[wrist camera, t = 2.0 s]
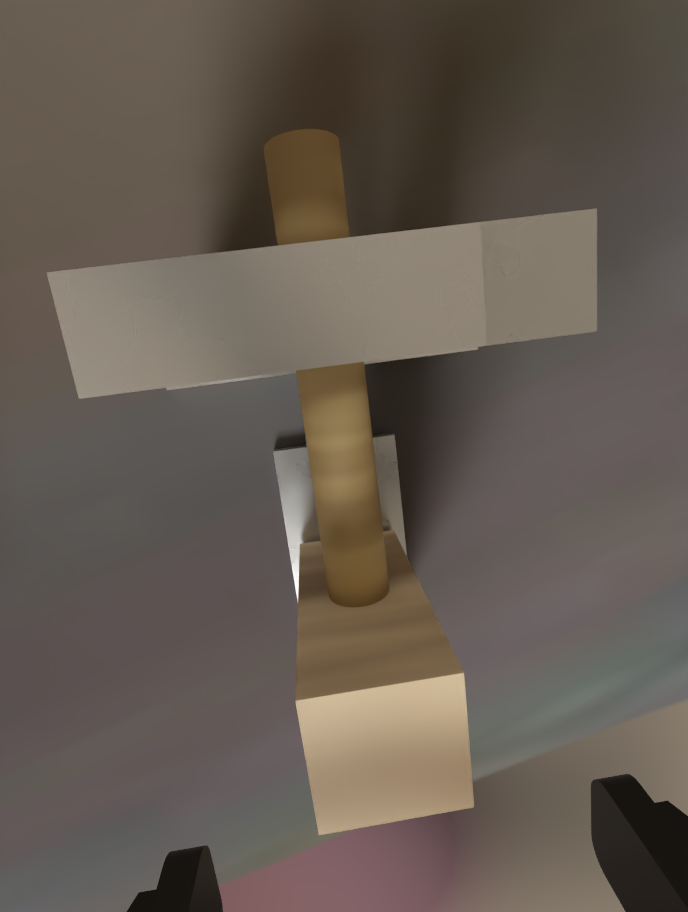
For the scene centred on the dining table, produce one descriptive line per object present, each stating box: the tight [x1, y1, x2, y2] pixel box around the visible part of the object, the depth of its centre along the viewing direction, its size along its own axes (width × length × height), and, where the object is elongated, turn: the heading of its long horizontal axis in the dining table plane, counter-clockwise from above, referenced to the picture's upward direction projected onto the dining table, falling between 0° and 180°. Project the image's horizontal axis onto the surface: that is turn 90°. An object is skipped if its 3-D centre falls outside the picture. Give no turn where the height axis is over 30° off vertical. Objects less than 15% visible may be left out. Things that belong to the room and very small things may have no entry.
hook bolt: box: [264, 129, 474, 835], centre depth 14 cm, size 17×4×9 cm, turn 7°
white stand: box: [47, 209, 597, 600], centre depth 15 cm, size 19×12×11 cm, turn 7°
